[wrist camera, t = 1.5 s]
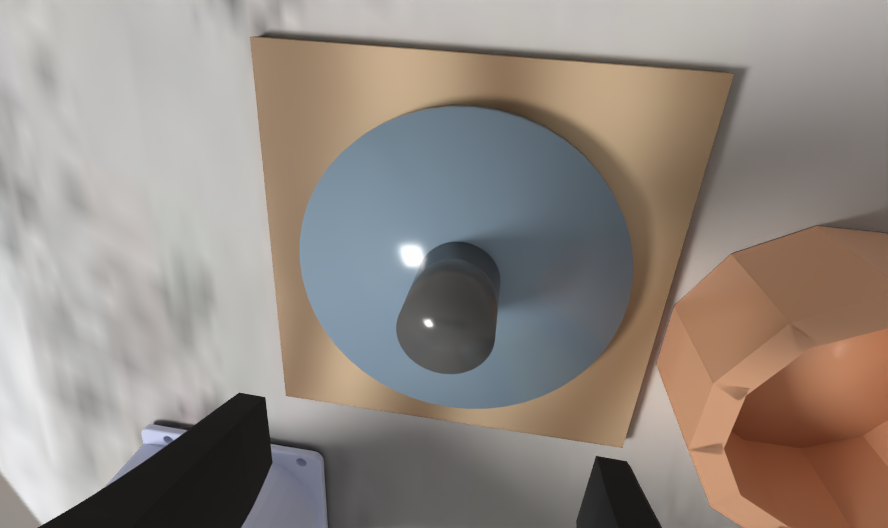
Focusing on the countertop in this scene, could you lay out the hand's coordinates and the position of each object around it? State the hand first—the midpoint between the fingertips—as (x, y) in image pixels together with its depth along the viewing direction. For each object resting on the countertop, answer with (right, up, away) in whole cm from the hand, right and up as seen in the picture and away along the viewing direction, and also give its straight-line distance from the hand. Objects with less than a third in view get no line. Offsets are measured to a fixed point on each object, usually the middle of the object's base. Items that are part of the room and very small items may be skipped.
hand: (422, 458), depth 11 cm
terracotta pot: (+14, +1, +8) cm, 16 cm away
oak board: (+1, +4, +8) cm, 10 cm away
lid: (+1, +4, +8) cm, 9 cm away
